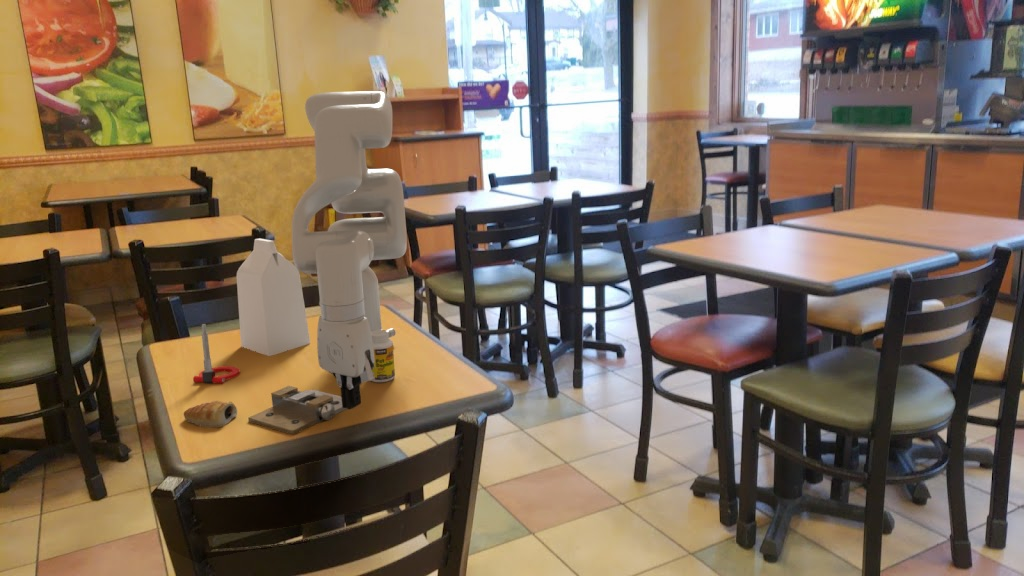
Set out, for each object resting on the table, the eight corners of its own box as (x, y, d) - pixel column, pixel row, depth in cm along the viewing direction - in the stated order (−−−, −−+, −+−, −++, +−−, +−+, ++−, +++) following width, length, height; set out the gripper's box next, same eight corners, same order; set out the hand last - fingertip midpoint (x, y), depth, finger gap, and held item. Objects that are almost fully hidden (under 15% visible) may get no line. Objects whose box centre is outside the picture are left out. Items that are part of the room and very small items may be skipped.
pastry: (176, 427, 147) (174, 407, 146) (197, 412, 153) (194, 394, 152) (223, 429, 145) (220, 409, 144) (241, 414, 151) (239, 396, 150)
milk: (241, 346, 191) (228, 241, 185) (282, 334, 200) (270, 233, 193) (269, 356, 184) (256, 246, 177) (310, 343, 192) (299, 238, 186)
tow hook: (211, 370, 177) (189, 383, 168) (206, 314, 174) (183, 325, 165) (247, 371, 176) (226, 385, 167) (241, 315, 173) (220, 325, 164)
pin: (287, 403, 155) (286, 389, 154) (335, 416, 148) (333, 401, 147) (275, 408, 153) (274, 394, 152) (323, 422, 146) (322, 407, 145)
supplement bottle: (375, 385, 163) (371, 338, 161) (364, 378, 168) (360, 332, 165) (399, 379, 166) (396, 333, 164) (388, 372, 171) (384, 327, 168)
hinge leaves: (312, 393, 160) (311, 376, 159) (356, 404, 154) (354, 386, 153) (248, 421, 147) (246, 403, 146) (293, 434, 141) (290, 416, 140)
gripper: (297, 309, 139) (307, 405, 144) (359, 322, 131) (368, 423, 137) (328, 298, 145) (337, 390, 151) (389, 310, 137) (396, 406, 143)
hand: (351, 405), depth 144 cm, fingers closed
